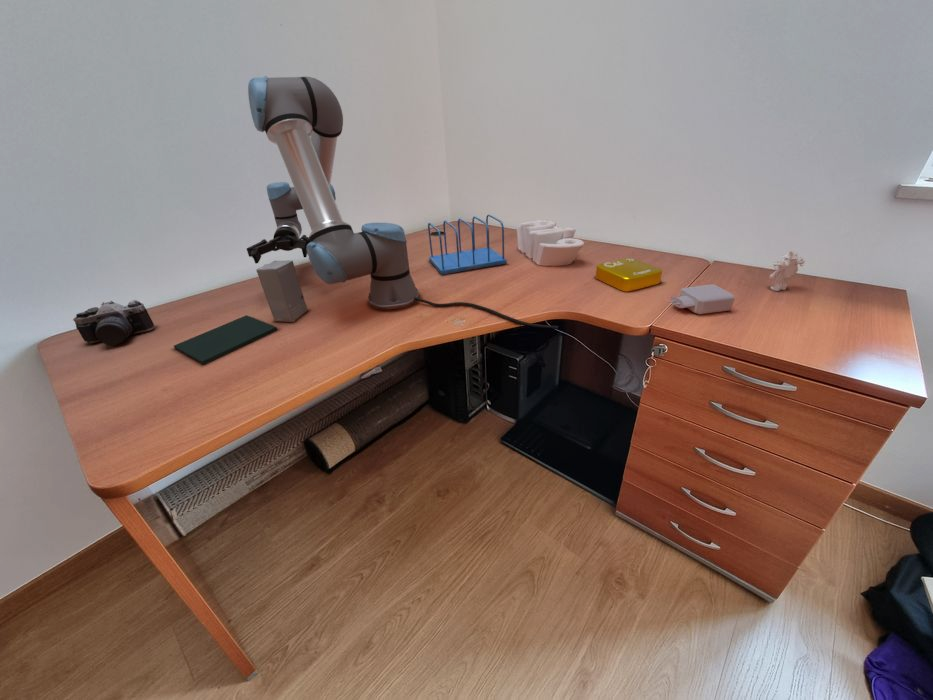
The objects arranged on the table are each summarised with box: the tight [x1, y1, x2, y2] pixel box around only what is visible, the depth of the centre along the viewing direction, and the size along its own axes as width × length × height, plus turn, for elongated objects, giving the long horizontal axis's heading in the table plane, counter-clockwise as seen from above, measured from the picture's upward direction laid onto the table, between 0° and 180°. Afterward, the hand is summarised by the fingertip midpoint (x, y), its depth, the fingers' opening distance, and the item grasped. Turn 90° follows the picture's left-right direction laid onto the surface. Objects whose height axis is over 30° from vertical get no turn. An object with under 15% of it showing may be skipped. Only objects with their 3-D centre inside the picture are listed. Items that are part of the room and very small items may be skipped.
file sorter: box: [427, 214, 508, 275], centre depth 145 cm, size 25×17×15 cm
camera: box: [72, 299, 155, 346], centre depth 106 cm, size 16×10×10 cm, turn 117°
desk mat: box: [173, 315, 278, 365], centre depth 106 cm, size 15×20×1 cm
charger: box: [667, 283, 736, 315], centre depth 107 cm, size 5×9×15 cm
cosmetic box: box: [255, 259, 309, 323], centre depth 113 cm, size 8×7×16 cm
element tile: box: [595, 257, 663, 293], centre depth 126 cm, size 15×15×5 cm
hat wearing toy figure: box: [768, 250, 806, 292], centre depth 113 cm, size 9×4×12 cm, turn 104°
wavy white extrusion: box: [516, 219, 585, 267], centre depth 151 cm, size 35×16×11 cm, turn 12°
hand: (279, 255), depth 117 cm, fingers open, 13 cm apart
